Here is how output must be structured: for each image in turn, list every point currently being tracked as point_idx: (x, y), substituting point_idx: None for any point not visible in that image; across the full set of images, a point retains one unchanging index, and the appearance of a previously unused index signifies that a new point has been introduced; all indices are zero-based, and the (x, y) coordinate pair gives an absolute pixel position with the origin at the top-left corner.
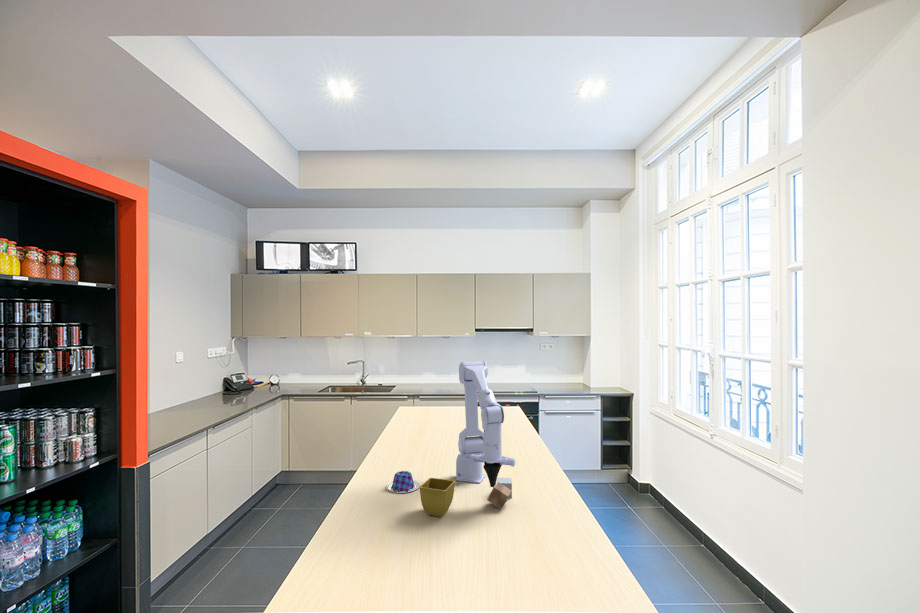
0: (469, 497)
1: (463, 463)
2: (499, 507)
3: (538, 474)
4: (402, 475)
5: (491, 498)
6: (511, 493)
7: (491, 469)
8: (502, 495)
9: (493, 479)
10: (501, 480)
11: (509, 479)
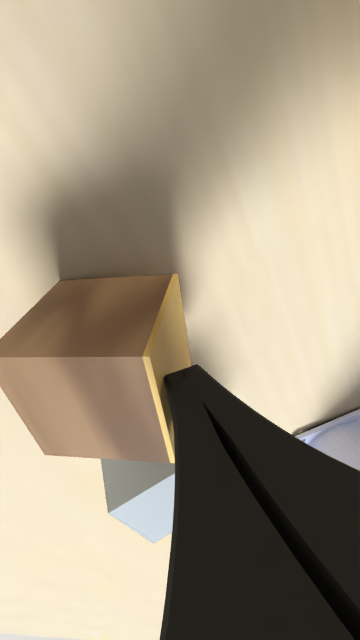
0: (296, 312)
1: None
2: (72, 283)
3: (124, 598)
4: None
5: (145, 291)
6: None
7: (310, 596)
8: (44, 342)
9: (192, 433)
10: None
11: (152, 529)
